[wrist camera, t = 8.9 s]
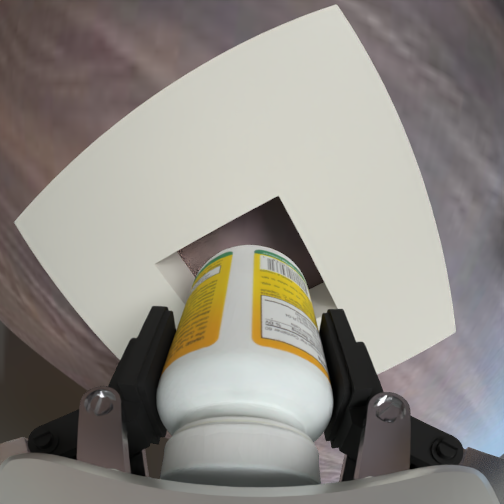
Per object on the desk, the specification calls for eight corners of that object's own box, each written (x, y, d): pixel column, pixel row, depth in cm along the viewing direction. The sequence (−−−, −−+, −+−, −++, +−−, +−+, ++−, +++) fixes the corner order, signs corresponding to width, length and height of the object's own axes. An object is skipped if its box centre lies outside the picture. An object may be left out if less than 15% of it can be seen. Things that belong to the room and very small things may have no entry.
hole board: (322, 22, 12) (336, 4, 10) (437, 307, 19) (455, 331, 17) (41, 206, 16) (14, 222, 14) (205, 406, 24) (201, 434, 21)
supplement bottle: (307, 237, 13) (377, 439, 4) (305, 334, 15) (335, 513, 7) (183, 244, 13) (95, 437, 5) (201, 339, 16) (167, 514, 7)
